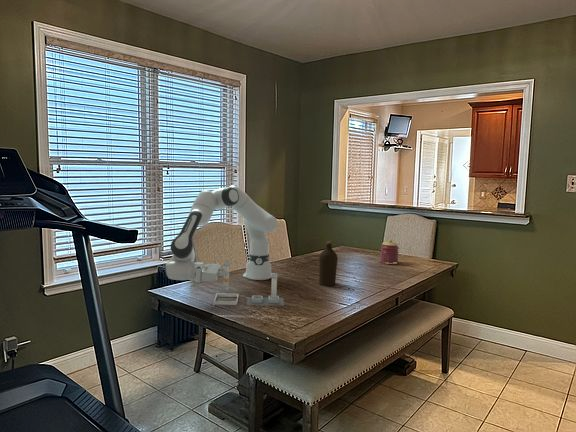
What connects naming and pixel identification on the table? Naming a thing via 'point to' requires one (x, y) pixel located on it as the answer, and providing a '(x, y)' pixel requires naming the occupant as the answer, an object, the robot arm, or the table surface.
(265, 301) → the fuse board
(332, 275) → the olive oil
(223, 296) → the tray
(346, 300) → the table surface
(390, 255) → the canister
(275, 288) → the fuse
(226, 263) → the cylinder
